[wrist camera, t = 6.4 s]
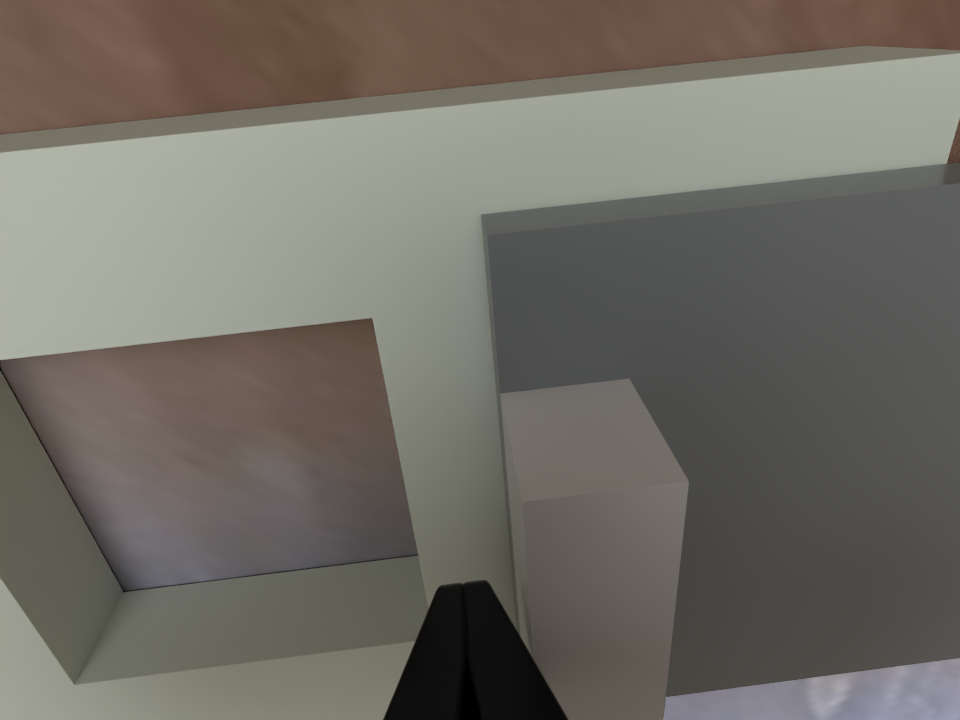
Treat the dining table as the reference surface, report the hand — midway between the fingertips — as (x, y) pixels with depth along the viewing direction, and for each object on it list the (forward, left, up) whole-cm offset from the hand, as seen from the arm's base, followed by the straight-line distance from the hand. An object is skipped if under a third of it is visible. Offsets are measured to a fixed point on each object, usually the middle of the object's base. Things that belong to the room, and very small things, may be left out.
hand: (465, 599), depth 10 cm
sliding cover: (+6, 0, -2) cm, 6 cm away
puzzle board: (-1, 0, -5) cm, 5 cm away
